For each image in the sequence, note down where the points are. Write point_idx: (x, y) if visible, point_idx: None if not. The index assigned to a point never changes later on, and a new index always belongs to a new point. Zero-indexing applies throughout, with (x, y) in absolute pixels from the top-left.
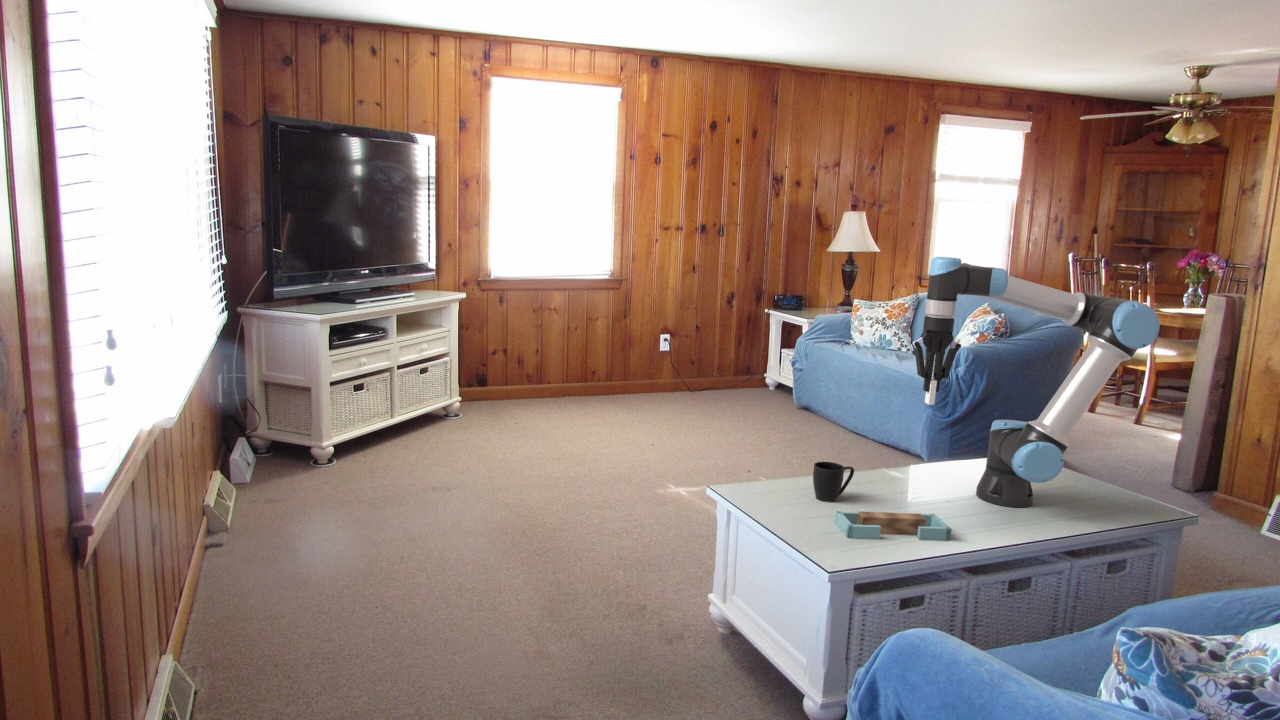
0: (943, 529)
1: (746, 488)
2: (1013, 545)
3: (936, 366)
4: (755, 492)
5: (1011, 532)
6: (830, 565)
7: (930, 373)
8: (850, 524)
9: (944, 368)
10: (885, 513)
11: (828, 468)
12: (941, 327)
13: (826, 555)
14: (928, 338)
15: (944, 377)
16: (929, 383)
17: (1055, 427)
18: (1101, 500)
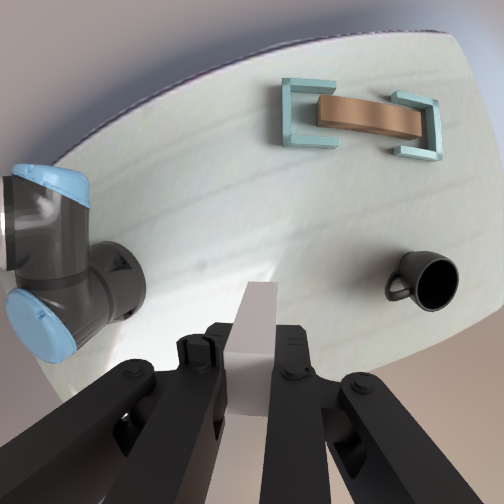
0: (296, 78)
1: (484, 301)
2: (189, 78)
3: (199, 475)
4: (482, 286)
5: (163, 129)
6: (453, 44)
7: (291, 402)
8: (435, 106)
9: (117, 450)
10: (382, 123)
11: (422, 303)
12: None
13: (456, 65)
14: None
15: (149, 364)
16: (280, 356)
17: None
18: None
